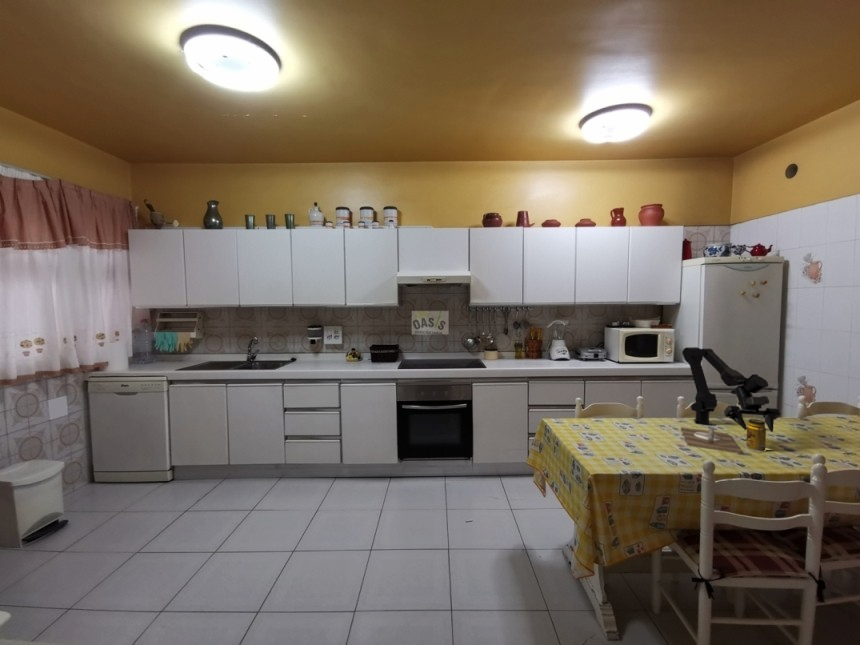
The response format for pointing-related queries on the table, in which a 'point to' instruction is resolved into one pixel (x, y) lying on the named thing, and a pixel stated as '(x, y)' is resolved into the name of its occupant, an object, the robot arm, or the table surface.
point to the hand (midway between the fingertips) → (759, 430)
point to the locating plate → (706, 444)
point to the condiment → (756, 435)
